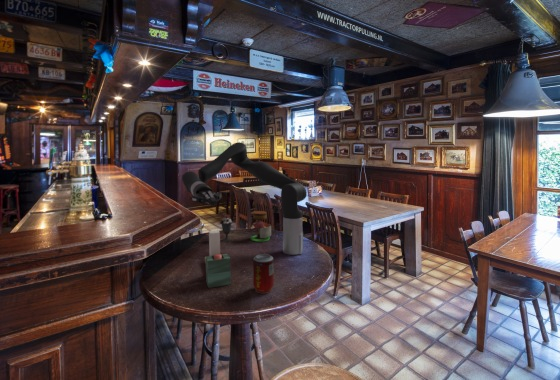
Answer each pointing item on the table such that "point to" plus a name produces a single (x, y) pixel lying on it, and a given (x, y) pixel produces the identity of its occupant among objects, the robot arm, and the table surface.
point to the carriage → (214, 242)
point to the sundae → (226, 227)
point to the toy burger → (261, 227)
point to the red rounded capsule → (217, 256)
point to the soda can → (263, 273)
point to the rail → (218, 271)
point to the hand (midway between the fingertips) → (214, 203)
